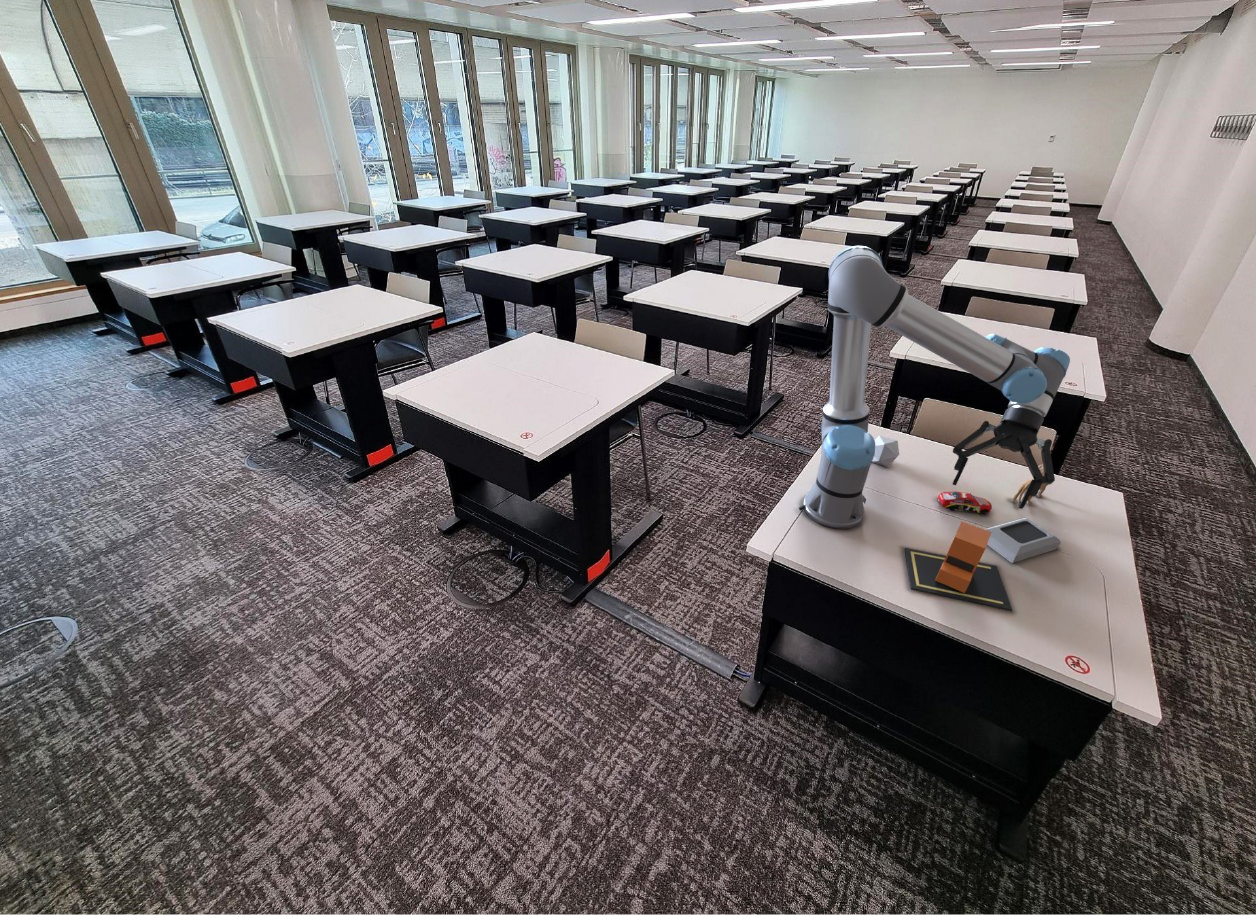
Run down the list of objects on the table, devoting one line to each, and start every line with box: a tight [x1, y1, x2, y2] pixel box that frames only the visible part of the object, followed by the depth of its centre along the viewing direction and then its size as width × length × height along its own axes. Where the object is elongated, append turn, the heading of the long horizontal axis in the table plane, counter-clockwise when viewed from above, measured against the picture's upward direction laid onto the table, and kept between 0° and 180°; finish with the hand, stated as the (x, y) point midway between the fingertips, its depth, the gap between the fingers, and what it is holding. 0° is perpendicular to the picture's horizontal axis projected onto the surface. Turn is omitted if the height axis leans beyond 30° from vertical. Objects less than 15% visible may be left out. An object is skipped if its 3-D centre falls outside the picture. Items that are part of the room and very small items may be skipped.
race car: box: [936, 490, 993, 516], centre depth 144 cm, size 13×5×4 cm, turn 76°
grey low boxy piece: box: [983, 517, 1061, 564], centre depth 132 cm, size 10×4×15 cm
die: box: [871, 434, 900, 468], centre depth 161 cm, size 8×9×10 cm
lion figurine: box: [1011, 463, 1049, 508], centre depth 146 cm, size 15×5×9 cm, turn 131°
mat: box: [903, 547, 1013, 612], centre depth 122 cm, size 20×14×1 cm
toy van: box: [935, 520, 991, 593], centre depth 119 cm, size 10×6×12 cm, turn 141°
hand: (986, 495), depth 122 cm, fingers open, 13 cm apart
